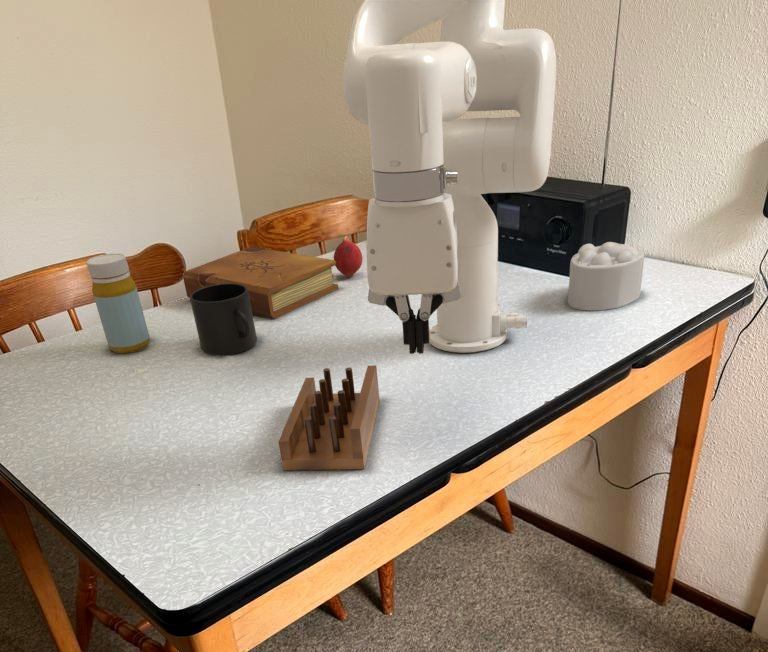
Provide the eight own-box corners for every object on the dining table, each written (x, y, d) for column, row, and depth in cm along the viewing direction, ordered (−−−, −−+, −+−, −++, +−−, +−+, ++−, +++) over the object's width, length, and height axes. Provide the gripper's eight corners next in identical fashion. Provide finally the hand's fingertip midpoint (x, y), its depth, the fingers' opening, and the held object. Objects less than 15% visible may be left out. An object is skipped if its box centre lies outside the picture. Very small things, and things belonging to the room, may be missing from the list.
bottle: (129, 356, 126) (103, 267, 118) (101, 350, 130) (74, 263, 121) (159, 341, 131) (136, 254, 123) (131, 336, 134) (108, 251, 126)
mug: (229, 365, 120) (217, 310, 115) (191, 347, 128) (178, 294, 123) (277, 346, 125) (268, 292, 120) (237, 330, 133) (227, 279, 128)
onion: (363, 280, 151) (359, 239, 146) (334, 282, 151) (330, 241, 146) (364, 271, 155) (360, 231, 151) (336, 273, 156) (332, 233, 151)
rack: (379, 401, 105) (376, 361, 102) (364, 469, 90) (359, 424, 87) (309, 403, 106) (303, 364, 103) (283, 470, 92) (275, 426, 88)
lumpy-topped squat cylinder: (648, 294, 132) (654, 243, 127) (602, 315, 125) (607, 263, 120) (598, 283, 138) (602, 234, 134) (552, 302, 132) (555, 252, 127)
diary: (188, 301, 148) (181, 272, 145) (256, 274, 160) (251, 246, 157) (271, 320, 136) (266, 288, 133) (338, 288, 148) (335, 259, 144)
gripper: (479, 174, 82) (479, 336, 92) (344, 182, 84) (359, 340, 94) (479, 188, 76) (480, 359, 86) (334, 196, 78) (351, 363, 88)
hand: (417, 349), depth 90 cm, fingers closed
